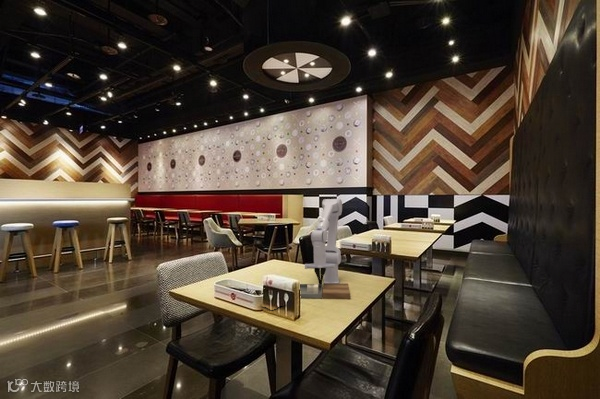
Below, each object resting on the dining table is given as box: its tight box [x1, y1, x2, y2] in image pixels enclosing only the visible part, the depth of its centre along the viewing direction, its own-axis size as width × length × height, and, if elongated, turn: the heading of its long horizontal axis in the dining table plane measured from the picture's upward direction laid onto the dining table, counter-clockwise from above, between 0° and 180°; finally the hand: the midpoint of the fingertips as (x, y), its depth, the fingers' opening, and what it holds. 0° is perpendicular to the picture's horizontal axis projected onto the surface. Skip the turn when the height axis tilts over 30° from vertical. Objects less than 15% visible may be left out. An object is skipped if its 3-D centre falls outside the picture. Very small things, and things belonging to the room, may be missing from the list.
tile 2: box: [307, 285, 314, 292], centre depth 126 cm, size 4×4×2 cm
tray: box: [299, 283, 323, 300], centre depth 123 cm, size 14×12×2 cm
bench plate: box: [322, 282, 351, 300], centre depth 122 cm, size 14×12×2 cm
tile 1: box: [313, 283, 319, 294], centre depth 120 cm, size 4×4×2 cm
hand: (320, 283), depth 126 cm, fingers closed
